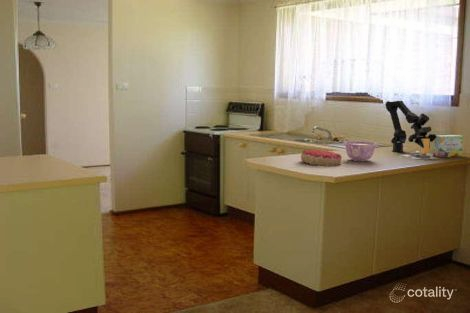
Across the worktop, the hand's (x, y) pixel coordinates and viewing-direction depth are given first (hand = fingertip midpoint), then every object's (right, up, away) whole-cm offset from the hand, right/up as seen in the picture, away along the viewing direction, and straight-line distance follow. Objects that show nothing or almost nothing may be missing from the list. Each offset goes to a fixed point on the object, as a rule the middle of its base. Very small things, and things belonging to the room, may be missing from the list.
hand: (426, 147), depth 354 cm
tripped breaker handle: (0, -4, +2) cm, 5 cm away
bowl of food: (-50, -9, -16) cm, 53 cm away
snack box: (+18, -6, +10) cm, 22 cm away
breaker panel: (-4, -7, +3) cm, 8 cm away
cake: (-77, -11, -28) cm, 83 cm away
